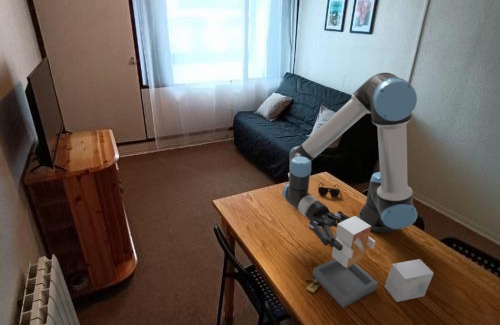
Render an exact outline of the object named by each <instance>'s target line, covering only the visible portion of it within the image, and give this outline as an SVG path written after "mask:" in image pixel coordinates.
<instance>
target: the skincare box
mask: <svg viewBox="0 0 500 325" xmlns="http://www.w3.org/2000/svg"><path fill="white" fill-rule="evenodd" d="M433 276H434V271H433V270H432V269H431V268H430V267H429V266H427V265H426V263H424V261H422V259H420V258H418V259H412V260H408V261H401V262H397V263H392V264H391V267H390V270H389V273H388V276H387V279H386V282H385V285H384V288H385V289H386V291H387V292H388V293H389V294H390V296H391V297H392V299H393V300H394V301H395V302H396V303H399V302H403V301H408V300H412V299H416V298H418V299H419V298H422V297H425V295H426V292H427V291H428V288H429V285H430V282H431V281H432V278H433Z"/></svg>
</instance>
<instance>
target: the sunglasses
mask: <svg viewBox="0 0 500 325" xmlns="http://www.w3.org/2000/svg"><path fill="white" fill-rule="evenodd" d="M320 185H322V186H324V183H323V182H320V183H319V184H318V186H317V187H318V189H317V190H318V194H319V195H321V196H325V197H326V196H327V194H328V193H329V194H330V197H331V198H333V197H334V198H337V197H339V195H340V193H341V190H340V186H339V185H338V184H334V185H333V187H334V188H332V187H327V186H325V187H322V186H320ZM336 186H337V187H338V188H335V187H336Z"/></svg>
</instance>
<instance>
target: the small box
mask: <svg viewBox="0 0 500 325" xmlns="http://www.w3.org/2000/svg"><path fill="white" fill-rule="evenodd" d="M358 217H359V216H356V215H354V216H353V215H352V217H350V218H349V219H346V220H344V221H343V222H340V223H338V225H337V228H336V232H335V236H334V238H335V239H336V238H339V239H340V240H341V241H342V242H343V243H345V244H346V245H347V246H348V247H349V248H351V249H352V250H353V255H352V258H351V259H350V258H348V257H347V256H346V255H345V254H344V253H343V252H342V251H339V250H337V249H336V248H335V247H334V246H333V247H332V252H331V257H332V258H333V259H336V260H337V261H338V262H339V263H341V264H342V265H343V266H344V267H346V268H348V267H349V266H351V265H353V264H354V263H356V264H357V263H358V262H360V261H361V260H363V259H364V257H365V252H366V248H367V246H368V245H367V241H368V237H370V232H371V230H370V229H371V226H370V225H369V224H367V223H366V222H364V221H363V220H361V219H359V218H358Z"/></svg>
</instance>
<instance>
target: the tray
mask: <svg viewBox="0 0 500 325" xmlns="http://www.w3.org/2000/svg"><path fill="white" fill-rule="evenodd" d="M312 277H313V278H314V279H315V280H316V279H317V280H318V281H317V280H316V281H317V282H318V284H319V285H321V287H323V289H324V291H326V292H327V293H328V294H329V295H330V297H332V298H333V300H335V302H336V303H337V304H338V305H339V306H340V307H341V309H345V308H347V307H349V306H350V305H352V304H354V303H355V302H357V301H359V300H361V299H362V298H365V297H366V296H368V295H370V294H371V293H373V292H375V291H377V287H378V284H379V282H378V281H377V280H376V279H374V278H373V277H372V276H371V275H370V274H369V273H367V272H366V271H365V270H364V269H363V268H362V267H361V266H359V265H358V263H357V262H356V263H354V264H353V265H351V266H349V267H348V268H346V267H344V266H343V265H342V264H341V263H339V262H338V261H337V260H336V259H334V258H333V259H331V260H329V261H326V262H325V263H322V264H321V265H318V266H316V267H314V268H313V271H312Z"/></svg>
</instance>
